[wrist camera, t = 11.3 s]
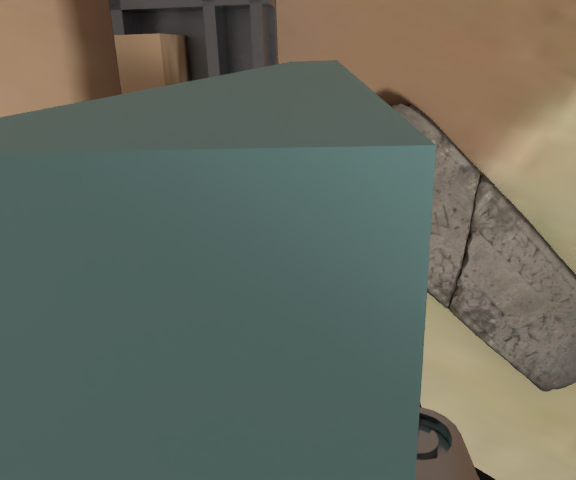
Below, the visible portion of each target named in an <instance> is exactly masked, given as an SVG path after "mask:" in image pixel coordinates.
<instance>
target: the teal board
mask: <svg viewBox="0 0 576 480" xmlns="http://www.w3.org/2000/svg"><path fill="white" fill-rule="evenodd" d="M435 154H436V145H435V144H434V143H433V142H432V141H431V140H429V139H428V138H427V137H426V136H425V135H424V134H422V133H421V132H420V131H419V130H418V129H417V128H415V127H414V126H413V125H412V124H411V123H410V122H408V121H407V120H406V119H405V118H404V117H402V116H401V115H400V114H399V113H398V112H397V111H395V110H394V109H393V108H392V107H391V106H390V105H388V104H387V103H386V102H385V101H384V100H383V99H381V98H380V97H379V96H378V95H377V94H376V93H374V92H373V91H372V90H371V89H370V88H368V87H367V86H366V85H365V84H364V83H363V82H361V81H360V80H359V79H358V78H357V77H356V76H354V75H353V74H352V73H351V72H350V71H349V70H347V69H346V68H345V67H344V66H343V65H341V64H340V63H339V62H338V61H337V60H335V61H303V62H287V63H282V64H277V65H272V66H266V67H261V68H256V69H251V70H246V71H240V72H235V73H230V74H225V75H220V76H214V77H209V78H204V79H199V80H193V81H188V82H183V83H178V84H173V85H167V86H162V87H157V88H152V89H147V90H141V91H136V92H131V93H126V94H120V95H115V96H110V97H105V98H100V99H94V100H89V101H84V102H79V103H74V104H68V105H63V106H58V107H53V108H47V109H42V110H37V111H32V112H27V113H21V114H16V115H11V116H6V117H1V118H0V480H415V475H416V459H417V443H418V427H419V411H420V395H421V379H422V363H423V346H424V330H425V314H426V298H427V282H428V266H429V250H430V234H431V218H432V202H433V186H434V170H435Z"/></svg>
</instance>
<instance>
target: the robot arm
mask: <svg viewBox="0 0 576 480" xmlns="http://www.w3.org/2000/svg"><path fill="white" fill-rule="evenodd" d="M415 480H495V479H494V478H492V477H490V476H489V475H487V474H485V473H484V472H482V471H480V470H479V469H477V468H475V467H474V465H473V463H472V460H471V458H470V455H469V453H468V450H467V448H466V446H465V443H464V441H463V438H462V436H461V434H460V432H459V431H458V429H457V427H456V426H455V425H454V424H453V423H452V422H451V421H450V420H449V419H447V418H446V417H445V416H443V415H441V414H439V413H437V412H435V411H433V410H429V409H425V408H422V407H421V404H420V411H419V427H418V443H417V459H416V475H415Z"/></svg>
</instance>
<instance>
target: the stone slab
mask: <svg viewBox="0 0 576 480" xmlns="http://www.w3.org/2000/svg"><path fill="white" fill-rule="evenodd" d="M391 107H392V108H393V109H394V110H395V111H397V112H398V113H399V114H400V115H401V116H402V117H404V118H405V119H406V120H407V121H408V122H410V123H411V124H412V125H413V126H414V127H415V128H417V129H418V130H419V131H420V132H421V133H422V134H424V135H425V136H426V137H427V138H428V139H429V140H431V141H432V142H433V143H434V144H435V145H436V154H435V170H434V186H433V202H432V218H431V234H430V250H429V266H428V282H427V292H428V293H429V294H430V295H431V296H433V297H434V298H435V299H436V300H437V301H438V302H439V303H441V304H442V305H443V306H444V307H445V308H449V309H450V311H451V312H452V313H453V315H455V316H456V317H457V318H458V319H459V320H460V321H462V322H463V323H464V325H466V326H467V327H468V328H469V329H470V330H472V331H473V332H474V334H475V335H477V336H478V337H479V338H480V339H482V340H483V341H484V342H485V343H486V344H487V345H488V346H489V347H490V348H492V349H493V350H494V351H495V352H497V353H498V354H499V355H501V356H502V357H503V358H504V359H505V360H507V361H508V362H509V363H510V364H511V365H512V366H513V367H514V368H515V369H516V370H518V371H519V372H521V373H522V374H523V375H524V376H526V377H527V378H528V379H529V380H530V381H531V382H532V383H533V384H534V385H536V386H537V387H538V388H539V389H540V390H542V391H546V392H547V391H550V390H552V389H560V388H564V387H567V386H569V385H571V384H574V383H575V382H576V274H575V273H574V272H573V271H572V270H571V269H570V268H569V267H568V266H567V265H566V264H565V262H564V261H563V260H562V259H561V258H560V257H559V256H558V255H557V254H556V253H555V252H554V250H553V249H552V248H551V246H550V245H549V244H548V243H547V242H546V241H545V240H544V238H543V237H542V236H541V235H540V234H539V233H538V232H537V231H536V229H535V228H534V227H533V225H532V224H531V223H530V222H529V221H528V220H527V219H526V218H525V217H524V216H523V215H522V213H521V212H520V211H518V209H517V208H516V207H515V206H514V205H513V204H512V203H511V202H510V201H509V200H508V199H507V198H506V197H505V196H504V195H503V194H501V192H500V191H499V190H498V189H497V188H496V187H495V185H494V184H493V183H492V182H491V181H490V180H489V179H488V178H487V177H486V176H483V177H480V171H479V170H478V169H477V168H476V167H475V166H474V165H473V164H472V162H471V161H470V160H469V159H468V158H467V157H466V156H465V155H464V154H463V153H462V151H461V150H460V149H459V148H458V147H457V146H456V145H455V144H453V142H452V141H451V140H450V139H449V138H448V137H447V136H446V135H445V134H444V132H443V131H442V130H441V129H440V128H439V127H438V126H437V125H436V124H435V123H434V122H433V121H432V120H431V119H430V118H429V117H427V116H426V115H425V114H423V112H422V111H420V110H419V109H418V108H416V107H414V106H413V105H411V104H409V107H408V106H405V105H403V104H397V105H393V106H391Z"/></svg>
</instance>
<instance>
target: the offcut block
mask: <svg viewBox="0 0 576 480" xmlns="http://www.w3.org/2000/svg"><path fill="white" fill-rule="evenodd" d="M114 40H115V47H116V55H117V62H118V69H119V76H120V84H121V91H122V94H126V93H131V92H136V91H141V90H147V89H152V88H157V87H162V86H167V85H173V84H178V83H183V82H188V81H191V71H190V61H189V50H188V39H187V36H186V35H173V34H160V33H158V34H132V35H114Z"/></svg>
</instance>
